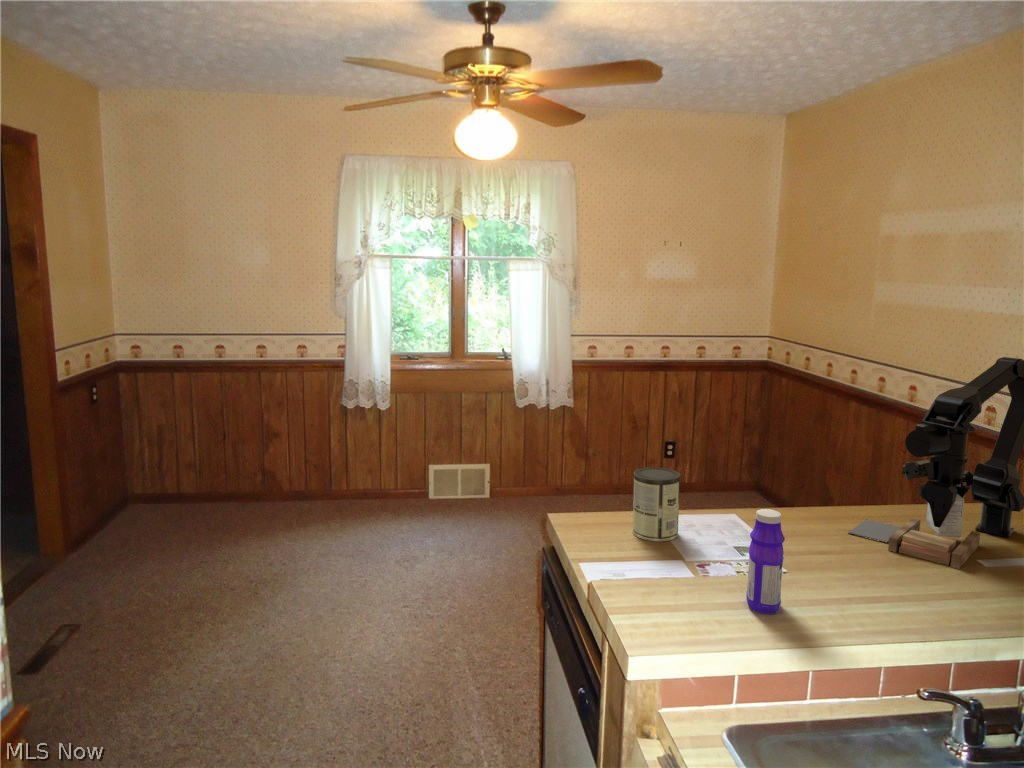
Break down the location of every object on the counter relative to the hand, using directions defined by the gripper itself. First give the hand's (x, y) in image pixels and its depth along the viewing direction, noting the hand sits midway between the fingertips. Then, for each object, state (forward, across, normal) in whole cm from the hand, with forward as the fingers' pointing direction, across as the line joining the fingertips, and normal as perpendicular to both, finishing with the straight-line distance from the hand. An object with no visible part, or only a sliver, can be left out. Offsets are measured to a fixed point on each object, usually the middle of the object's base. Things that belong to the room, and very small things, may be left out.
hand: (942, 521), depth 149 cm
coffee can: (+5, +41, -47) cm, 63 cm away
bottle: (+5, +57, -14) cm, 59 cm away
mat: (+4, +4, -12) cm, 13 cm away
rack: (+5, +6, 0) cm, 7 cm away
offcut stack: (+4, +10, 0) cm, 11 cm away
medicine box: (+2, 0, 0) cm, 2 cm away
